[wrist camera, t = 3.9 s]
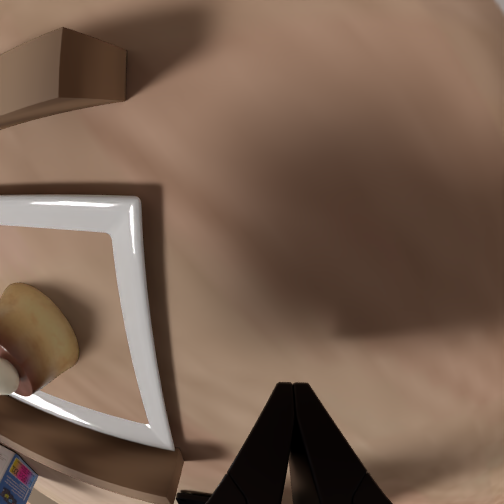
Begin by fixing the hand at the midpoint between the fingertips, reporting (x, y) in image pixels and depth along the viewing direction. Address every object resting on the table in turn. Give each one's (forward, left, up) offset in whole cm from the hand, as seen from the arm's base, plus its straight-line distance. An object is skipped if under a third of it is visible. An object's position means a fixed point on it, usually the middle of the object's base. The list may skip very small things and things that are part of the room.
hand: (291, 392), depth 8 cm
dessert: (+10, +1, -3) cm, 11 cm away
